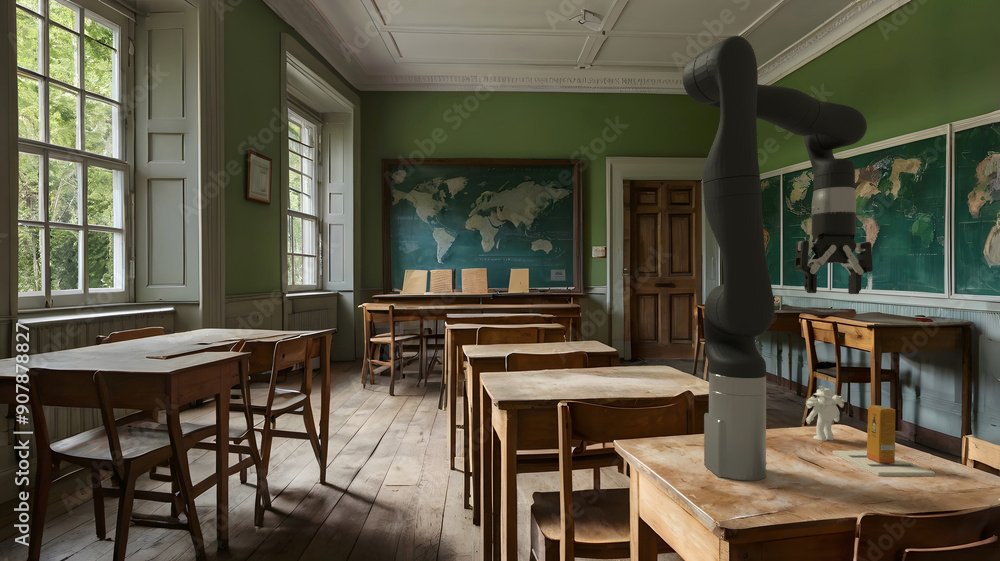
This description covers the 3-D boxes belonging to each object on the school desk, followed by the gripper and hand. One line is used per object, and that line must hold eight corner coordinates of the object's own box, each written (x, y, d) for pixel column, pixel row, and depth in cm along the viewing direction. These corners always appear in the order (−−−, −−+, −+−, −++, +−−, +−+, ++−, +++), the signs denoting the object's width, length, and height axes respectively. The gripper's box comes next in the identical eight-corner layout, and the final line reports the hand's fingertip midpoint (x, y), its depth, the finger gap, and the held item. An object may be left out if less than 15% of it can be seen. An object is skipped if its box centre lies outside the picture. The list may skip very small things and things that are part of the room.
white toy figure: (815, 443, 109) (815, 386, 109) (800, 438, 113) (800, 382, 113) (848, 440, 112) (848, 384, 112) (832, 435, 115) (832, 381, 116)
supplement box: (897, 463, 95) (897, 408, 95) (879, 463, 95) (879, 408, 95) (883, 457, 98) (883, 404, 98) (865, 457, 98) (865, 404, 98)
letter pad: (878, 475, 90) (878, 472, 90) (832, 453, 102) (832, 450, 102) (934, 475, 90) (934, 472, 90) (882, 453, 102) (882, 450, 102)
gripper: (809, 209, 100) (808, 293, 100) (882, 210, 100) (882, 294, 100) (787, 214, 108) (786, 292, 107) (855, 216, 108) (854, 294, 108)
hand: (832, 293), depth 104 cm, fingers open, 8 cm apart
